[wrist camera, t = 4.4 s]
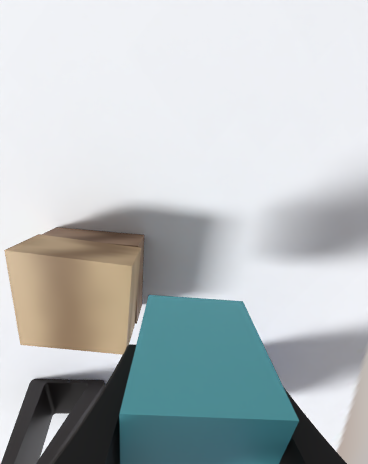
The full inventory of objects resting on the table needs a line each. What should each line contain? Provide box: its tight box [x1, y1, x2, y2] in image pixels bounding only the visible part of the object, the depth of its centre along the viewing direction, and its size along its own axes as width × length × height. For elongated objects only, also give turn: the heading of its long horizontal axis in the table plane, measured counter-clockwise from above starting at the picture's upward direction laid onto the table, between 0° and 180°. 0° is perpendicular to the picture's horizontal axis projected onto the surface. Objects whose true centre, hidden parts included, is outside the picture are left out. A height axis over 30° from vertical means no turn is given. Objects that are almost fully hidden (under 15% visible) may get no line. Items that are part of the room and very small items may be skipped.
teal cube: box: [119, 295, 299, 464], centre depth 8 cm, size 5×5×5 cm
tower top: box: [5, 234, 141, 354], centre depth 15 cm, size 8×8×3 cm
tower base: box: [42, 227, 144, 324], centre depth 18 cm, size 8×8×3 cm
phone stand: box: [1, 379, 105, 464], centre depth 19 cm, size 9×6×12 cm, turn 86°
